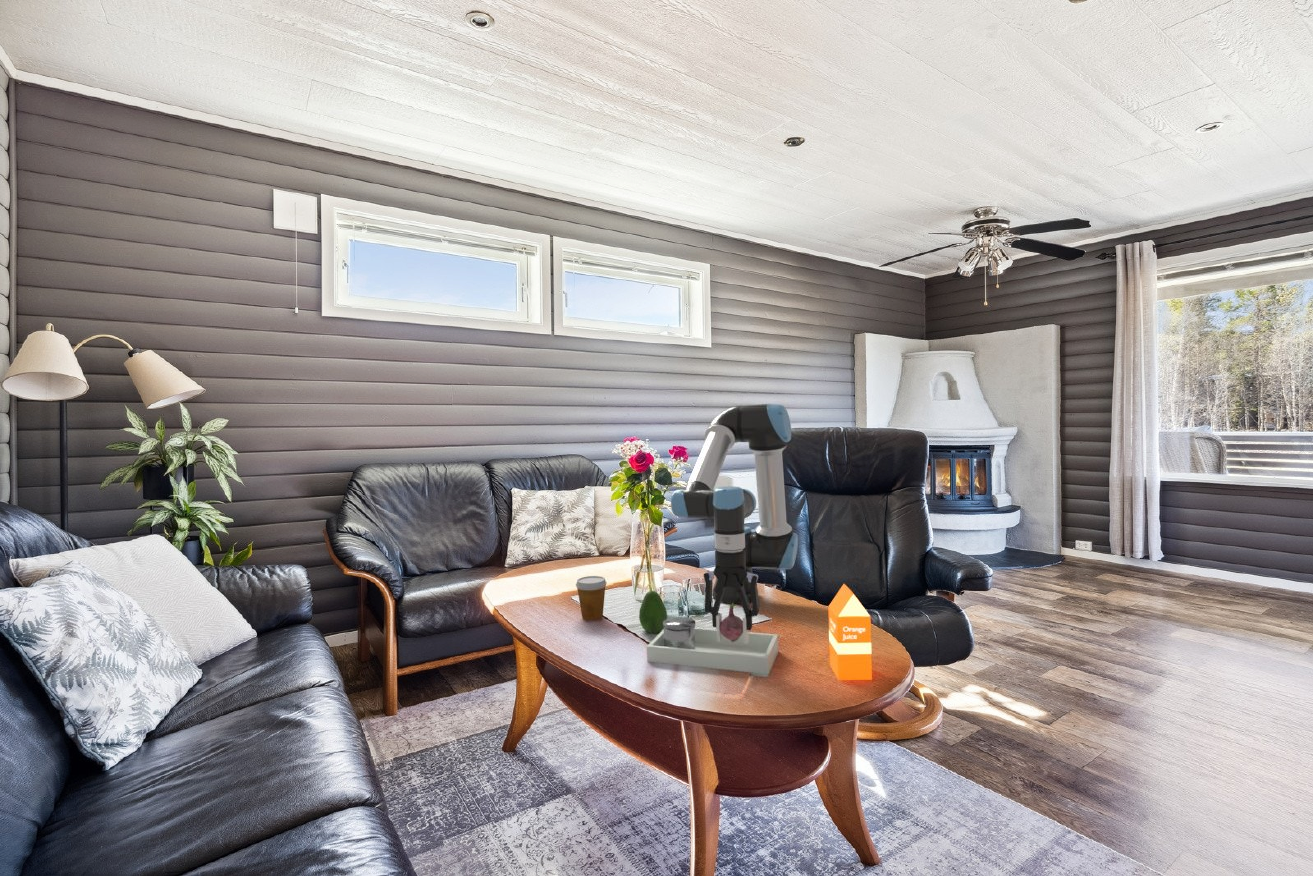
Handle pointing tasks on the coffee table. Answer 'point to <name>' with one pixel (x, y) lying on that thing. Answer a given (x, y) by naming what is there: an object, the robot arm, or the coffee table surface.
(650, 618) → the avocado
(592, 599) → the disposable coffee cup
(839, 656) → the orange juice
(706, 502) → the robot arm
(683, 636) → the tin
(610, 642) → the coffee table surface
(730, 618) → the vegetable
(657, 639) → the grey tray
